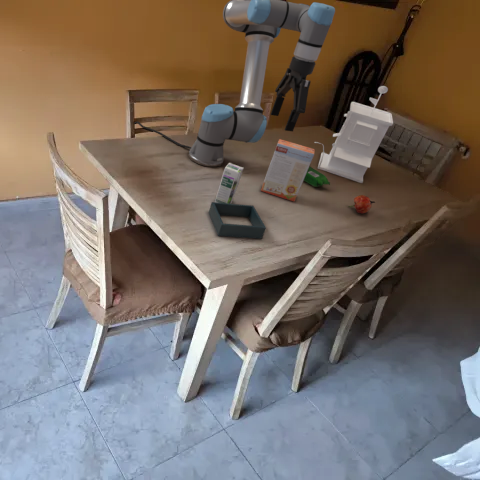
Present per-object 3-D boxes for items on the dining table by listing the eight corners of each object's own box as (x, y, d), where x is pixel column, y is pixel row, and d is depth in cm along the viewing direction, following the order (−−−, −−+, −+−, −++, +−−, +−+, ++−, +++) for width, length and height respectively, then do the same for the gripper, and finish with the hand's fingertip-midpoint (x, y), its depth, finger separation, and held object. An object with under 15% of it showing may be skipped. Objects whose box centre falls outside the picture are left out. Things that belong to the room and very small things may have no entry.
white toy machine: (363, 185, 196) (409, 99, 173) (304, 165, 202) (340, 79, 179) (363, 167, 215) (404, 87, 192) (309, 149, 221) (343, 69, 197)
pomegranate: (346, 216, 173) (372, 213, 166) (343, 198, 172) (369, 194, 165) (353, 213, 178) (378, 210, 171) (350, 195, 178) (375, 192, 171)
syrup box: (213, 202, 157) (224, 167, 149) (218, 196, 162) (229, 161, 154) (228, 208, 156) (240, 172, 148) (232, 201, 161) (244, 167, 152)
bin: (218, 235, 140) (221, 224, 138) (208, 212, 151) (211, 201, 148) (261, 238, 144) (266, 227, 141) (249, 216, 154) (253, 205, 152)
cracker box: (295, 196, 174) (315, 148, 162) (294, 202, 169) (315, 154, 157) (262, 185, 177) (279, 137, 164) (259, 191, 172) (277, 142, 160)
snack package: (318, 192, 181) (323, 181, 178) (290, 174, 191) (295, 163, 188) (328, 189, 185) (333, 179, 182) (300, 172, 195) (305, 161, 192)
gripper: (333, 72, 127) (305, 139, 139) (299, 50, 146) (278, 110, 159) (310, 68, 125) (284, 136, 137) (279, 46, 145) (259, 108, 157)
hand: (281, 122), depth 148 cm, fingers open, 13 cm apart
